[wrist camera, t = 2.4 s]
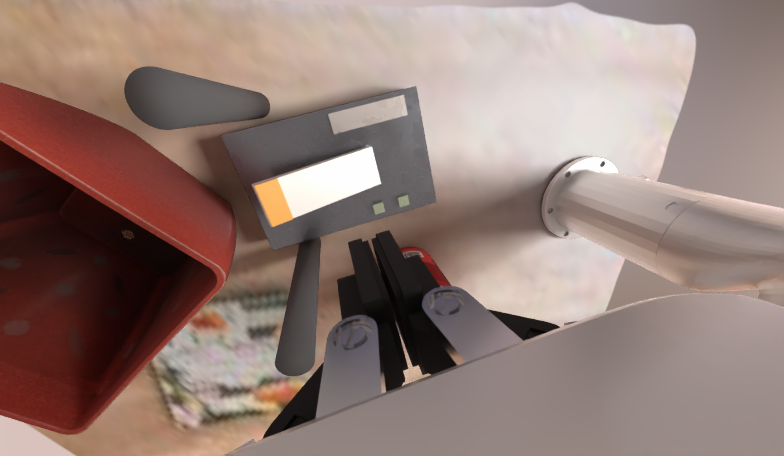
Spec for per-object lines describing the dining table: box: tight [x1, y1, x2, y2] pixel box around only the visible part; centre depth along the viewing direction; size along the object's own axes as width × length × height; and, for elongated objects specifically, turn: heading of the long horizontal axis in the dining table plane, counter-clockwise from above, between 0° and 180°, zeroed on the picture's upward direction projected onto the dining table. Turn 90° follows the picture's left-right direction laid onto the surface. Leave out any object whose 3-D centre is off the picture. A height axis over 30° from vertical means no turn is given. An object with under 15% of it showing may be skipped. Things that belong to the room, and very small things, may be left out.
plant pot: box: [0, 83, 236, 435], centre depth 25 cm, size 19×19×17 cm
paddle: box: [251, 147, 381, 227], centre depth 29 cm, size 12×4×1 cm, turn 103°
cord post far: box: [275, 237, 321, 376], centre depth 29 cm, size 3×3×20 cm
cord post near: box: [124, 67, 270, 130], centre depth 22 cm, size 3×3×20 cm
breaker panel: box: [220, 86, 436, 250], centre depth 33 cm, size 20×13×6 cm, turn 103°
